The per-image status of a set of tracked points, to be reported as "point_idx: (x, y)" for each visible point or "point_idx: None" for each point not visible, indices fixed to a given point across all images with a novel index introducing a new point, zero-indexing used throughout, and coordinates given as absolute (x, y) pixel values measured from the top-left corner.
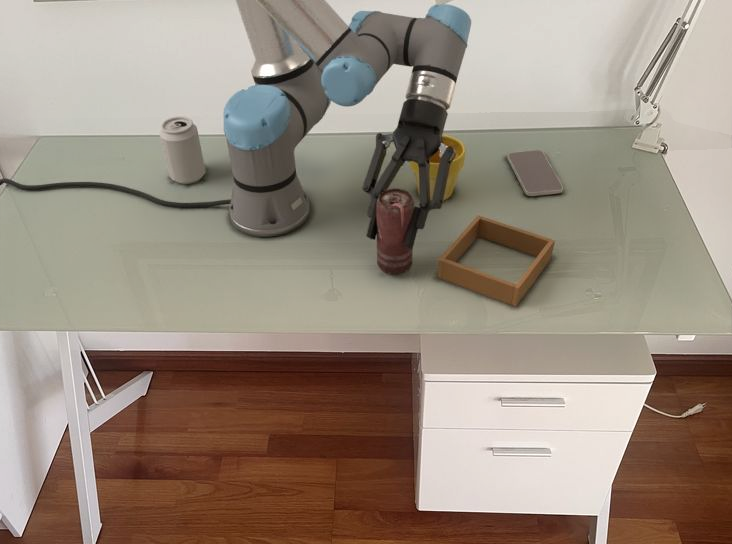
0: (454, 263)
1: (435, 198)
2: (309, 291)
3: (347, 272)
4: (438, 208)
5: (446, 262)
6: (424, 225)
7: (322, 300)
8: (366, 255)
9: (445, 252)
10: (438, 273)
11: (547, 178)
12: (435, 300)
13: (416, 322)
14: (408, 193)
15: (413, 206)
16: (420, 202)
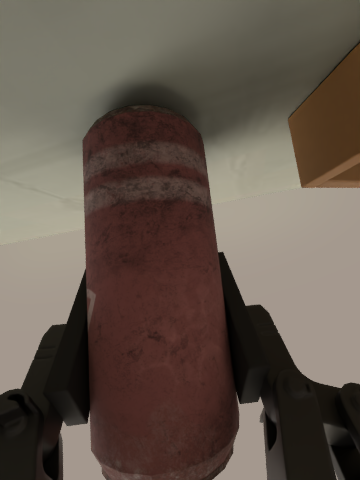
0: (353, 184)
1: (344, 456)
2: (37, 209)
3: (42, 173)
4: (353, 391)
5: (326, 187)
6: (270, 318)
7: (74, 211)
8: (7, 113)
9: (340, 166)
10: (293, 135)
11: None
12: (272, 167)
13: (236, 197)
14: (210, 472)
15: (237, 407)
16: (266, 425)
